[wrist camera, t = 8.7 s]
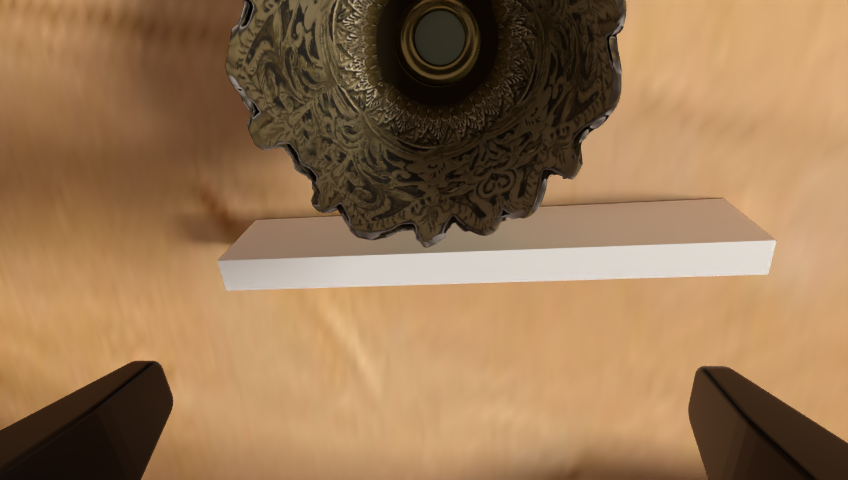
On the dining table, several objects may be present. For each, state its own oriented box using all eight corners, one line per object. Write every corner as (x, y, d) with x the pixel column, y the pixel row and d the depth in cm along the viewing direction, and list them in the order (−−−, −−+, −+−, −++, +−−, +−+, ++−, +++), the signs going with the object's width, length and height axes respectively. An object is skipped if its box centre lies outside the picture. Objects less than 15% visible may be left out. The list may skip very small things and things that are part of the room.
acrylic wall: (723, 198, 18) (776, 240, 15) (718, 228, 19) (768, 274, 16) (255, 219, 20) (217, 260, 17) (262, 246, 21) (226, 290, 18)
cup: (283, 1, 16) (138, 5, 9) (478, -158, 14) (489, -317, 7) (410, 185, 19) (375, 302, 12) (593, 74, 17) (690, 134, 9)
